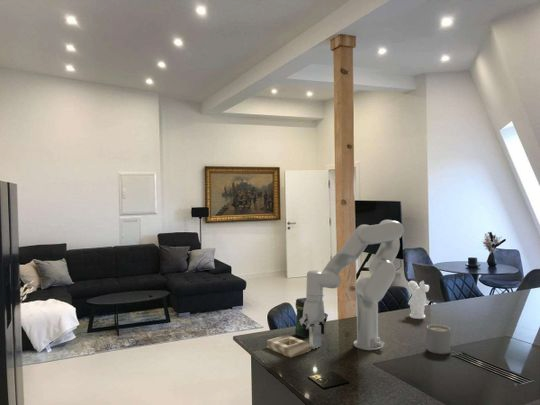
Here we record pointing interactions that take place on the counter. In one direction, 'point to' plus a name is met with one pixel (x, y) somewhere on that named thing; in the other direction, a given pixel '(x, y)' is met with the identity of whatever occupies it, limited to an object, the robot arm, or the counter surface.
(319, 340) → the bracket
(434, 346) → the coffee mug
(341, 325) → the counter surface
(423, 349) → the counter surface
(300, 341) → the block
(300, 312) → the coffee jar
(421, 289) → the cherub figurine
